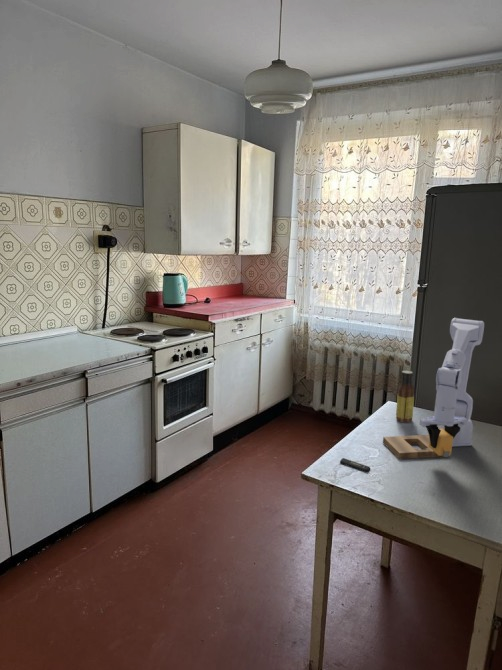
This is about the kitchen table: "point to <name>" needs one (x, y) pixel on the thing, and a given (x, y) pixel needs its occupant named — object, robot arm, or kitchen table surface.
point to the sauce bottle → (405, 398)
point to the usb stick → (355, 465)
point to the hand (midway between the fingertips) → (440, 446)
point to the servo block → (443, 444)
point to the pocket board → (409, 446)
